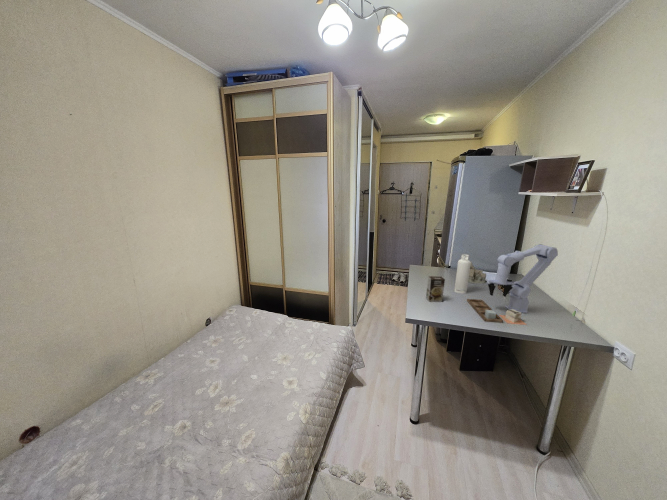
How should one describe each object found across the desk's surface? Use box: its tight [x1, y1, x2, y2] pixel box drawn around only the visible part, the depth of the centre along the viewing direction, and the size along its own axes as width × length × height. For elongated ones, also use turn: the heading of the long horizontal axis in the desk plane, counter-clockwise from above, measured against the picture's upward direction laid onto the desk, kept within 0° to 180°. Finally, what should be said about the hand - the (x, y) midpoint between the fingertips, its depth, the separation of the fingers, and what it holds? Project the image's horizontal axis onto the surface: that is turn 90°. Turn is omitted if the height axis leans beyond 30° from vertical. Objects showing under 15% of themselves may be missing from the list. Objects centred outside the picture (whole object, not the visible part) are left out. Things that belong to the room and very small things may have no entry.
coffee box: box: [425, 275, 446, 303], centre depth 167 cm, size 9×6×16 cm
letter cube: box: [505, 309, 522, 322], centre depth 142 cm, size 5×5×5 cm
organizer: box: [466, 298, 504, 324], centre depth 153 cm, size 10×27×2 cm, turn 172°
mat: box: [498, 314, 528, 326], centre depth 143 cm, size 10×10×1 cm
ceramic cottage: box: [468, 261, 487, 284], centre depth 204 cm, size 16×16×15 cm
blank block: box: [485, 309, 497, 319], centre depth 144 cm, size 4×4×4 cm
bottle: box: [454, 253, 472, 295], centre depth 180 cm, size 8×8×28 cm
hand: (497, 295), depth 153 cm, fingers open, 7 cm apart
